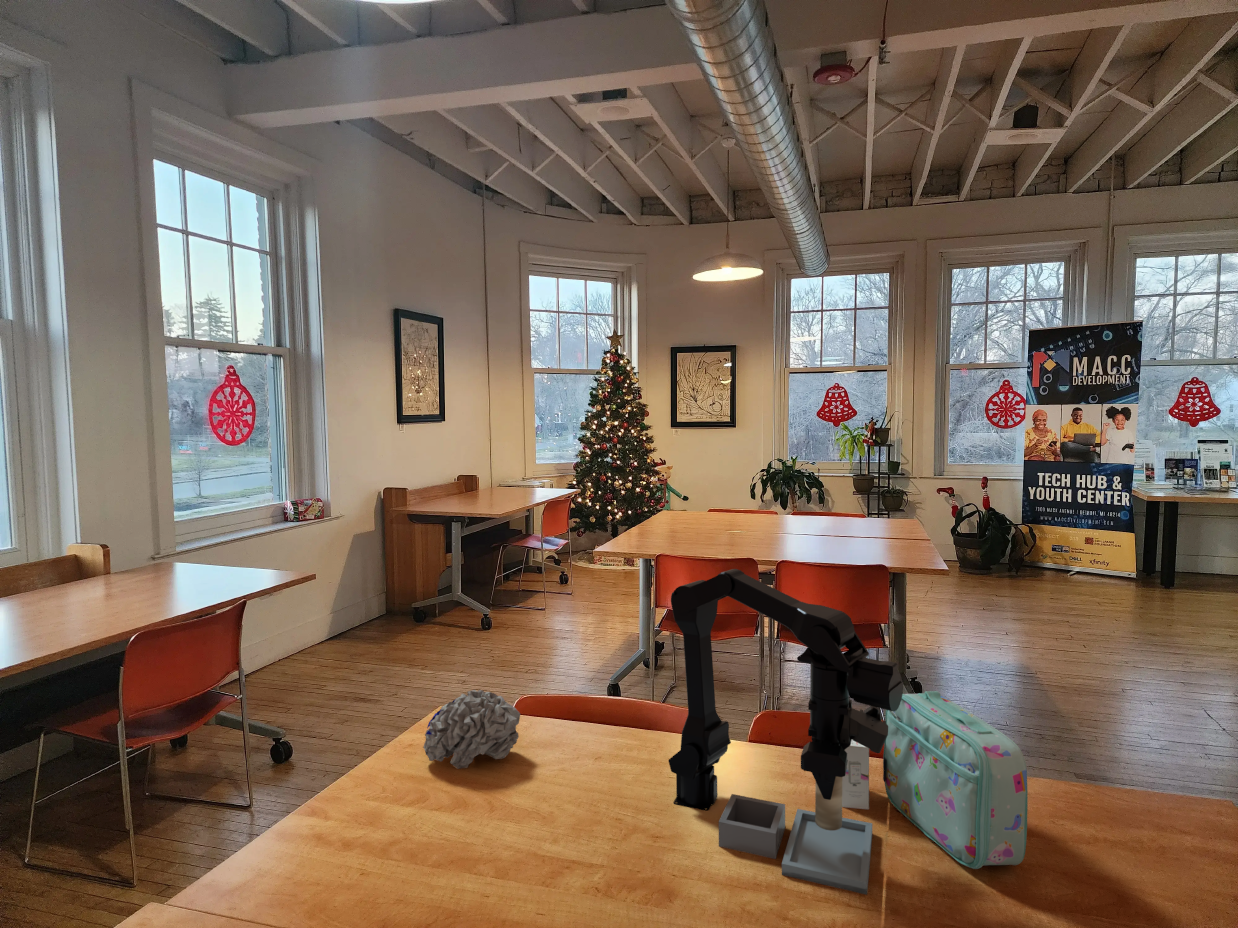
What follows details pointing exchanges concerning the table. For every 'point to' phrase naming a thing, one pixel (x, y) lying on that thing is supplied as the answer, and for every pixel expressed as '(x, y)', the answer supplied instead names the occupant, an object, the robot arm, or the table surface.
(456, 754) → the educational model
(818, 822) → the dowel
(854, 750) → the ink cartridge box
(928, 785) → the lunch box
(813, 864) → the tray
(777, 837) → the grey square bin
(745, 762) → the table surface
